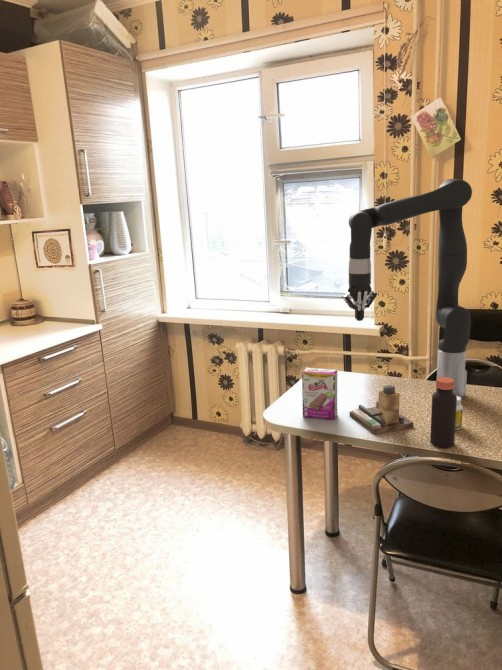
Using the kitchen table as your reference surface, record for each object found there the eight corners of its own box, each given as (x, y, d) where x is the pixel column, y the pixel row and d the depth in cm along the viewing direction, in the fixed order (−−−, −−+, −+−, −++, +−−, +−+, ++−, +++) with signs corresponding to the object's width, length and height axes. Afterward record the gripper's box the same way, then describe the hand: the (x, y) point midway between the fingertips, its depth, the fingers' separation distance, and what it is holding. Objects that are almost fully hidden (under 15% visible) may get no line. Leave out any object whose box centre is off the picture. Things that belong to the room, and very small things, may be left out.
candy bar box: (302, 417, 187) (301, 371, 183) (305, 411, 192) (304, 366, 187) (335, 420, 184) (334, 373, 179) (337, 414, 188) (337, 368, 184)
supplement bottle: (463, 430, 172) (464, 401, 169) (444, 430, 173) (446, 400, 170) (460, 423, 177) (461, 394, 174) (442, 422, 178) (443, 394, 175)
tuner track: (385, 408, 191) (386, 399, 190) (413, 426, 176) (413, 416, 175) (349, 415, 187) (349, 406, 186) (374, 434, 172) (374, 424, 171)
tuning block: (391, 417, 179) (392, 384, 176) (398, 422, 176) (399, 388, 173) (367, 422, 177) (367, 388, 174) (374, 427, 173) (374, 392, 170)
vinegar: (457, 448, 161) (461, 383, 156) (434, 448, 161) (437, 384, 156) (449, 437, 168) (453, 375, 162) (427, 438, 168) (429, 376, 163)
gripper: (347, 274, 184) (347, 325, 189) (382, 270, 188) (381, 320, 193) (337, 271, 191) (337, 320, 196) (371, 268, 195) (370, 315, 200)
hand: (359, 320), depth 194 cm, fingers closed
